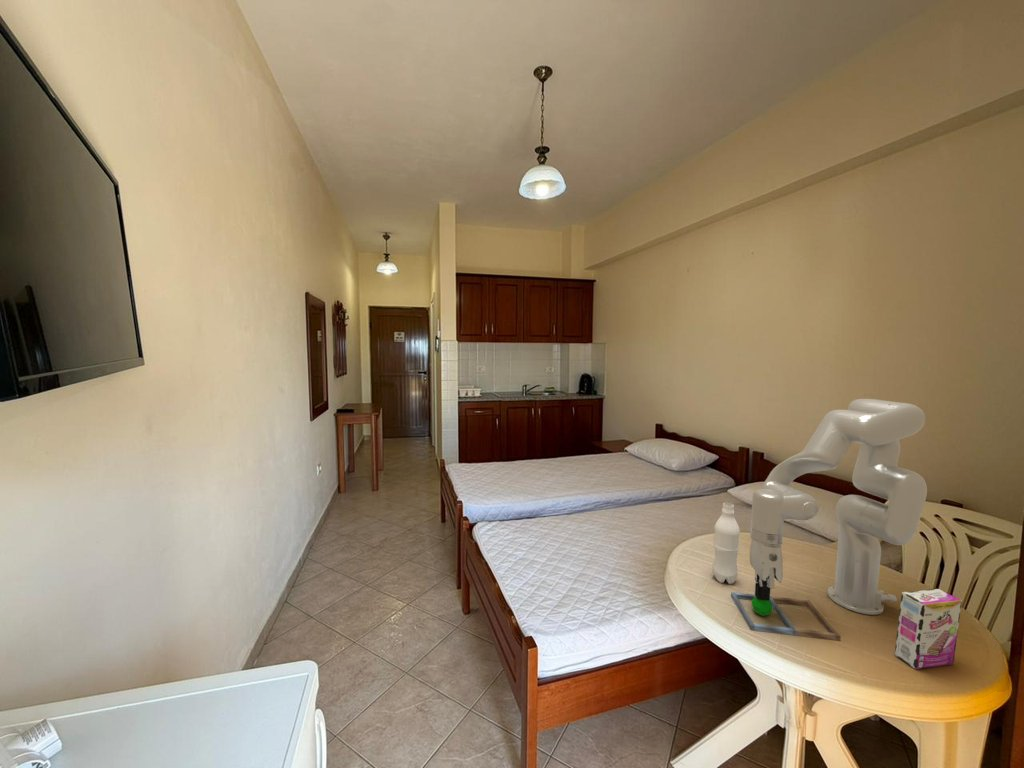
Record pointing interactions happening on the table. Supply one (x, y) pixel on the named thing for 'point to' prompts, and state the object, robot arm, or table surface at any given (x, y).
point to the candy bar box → (927, 628)
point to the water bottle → (726, 546)
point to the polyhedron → (762, 606)
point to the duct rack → (789, 627)
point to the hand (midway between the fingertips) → (762, 598)
